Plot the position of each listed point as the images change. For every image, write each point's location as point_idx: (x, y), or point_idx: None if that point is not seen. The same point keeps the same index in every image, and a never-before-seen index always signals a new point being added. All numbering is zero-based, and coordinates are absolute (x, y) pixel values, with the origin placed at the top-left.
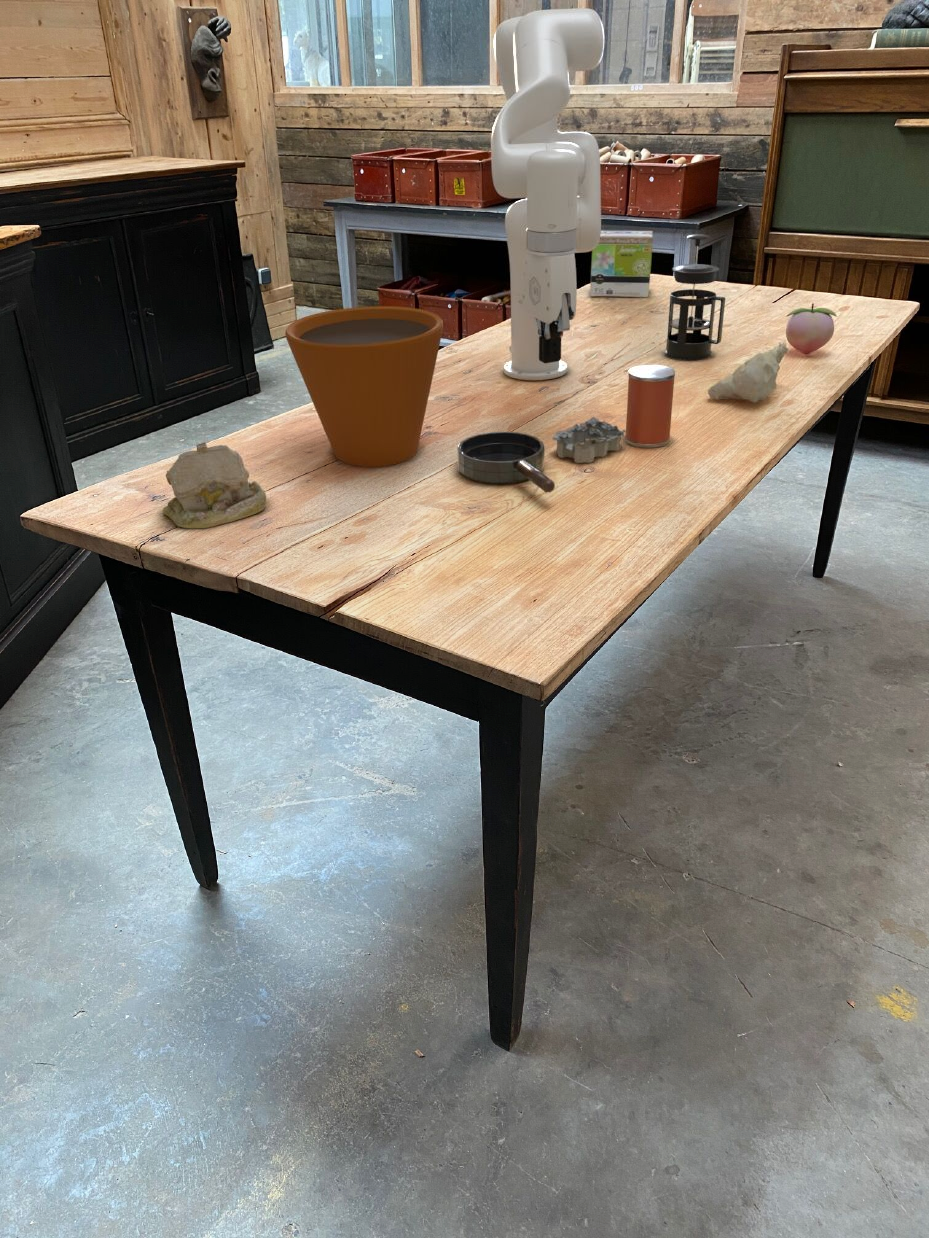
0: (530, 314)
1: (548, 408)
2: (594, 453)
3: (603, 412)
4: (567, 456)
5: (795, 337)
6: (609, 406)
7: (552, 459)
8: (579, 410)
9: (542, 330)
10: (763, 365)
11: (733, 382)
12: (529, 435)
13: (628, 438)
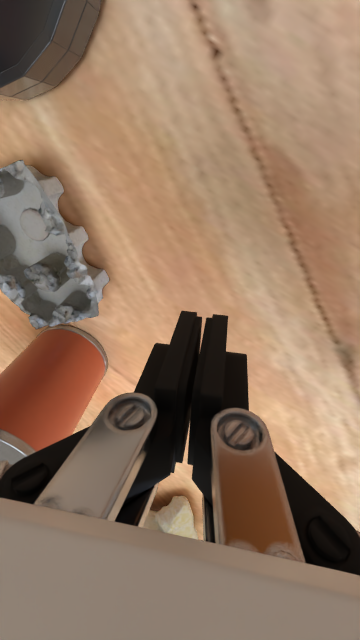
0: (289, 583)
1: (334, 320)
2: (10, 239)
3: None
4: (23, 184)
5: None
6: (255, 405)
7: (24, 144)
8: (273, 359)
9: (211, 448)
10: None
11: (162, 529)
12: (8, 77)
13: (61, 330)
